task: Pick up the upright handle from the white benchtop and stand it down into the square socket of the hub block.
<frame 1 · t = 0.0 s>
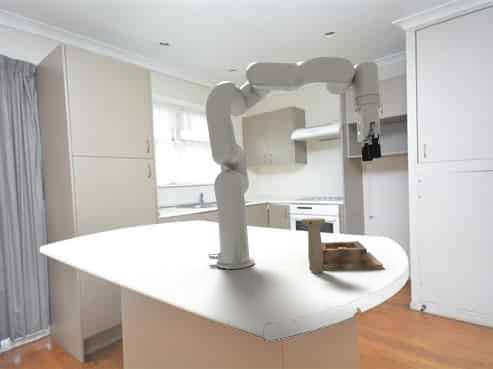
hand: (371, 159, 89), 31 cm above the table, tool pointing down, fingers open, 9 cm apart
hub block: (341, 262, 90), on the table
handle: (317, 272, 82), on the table
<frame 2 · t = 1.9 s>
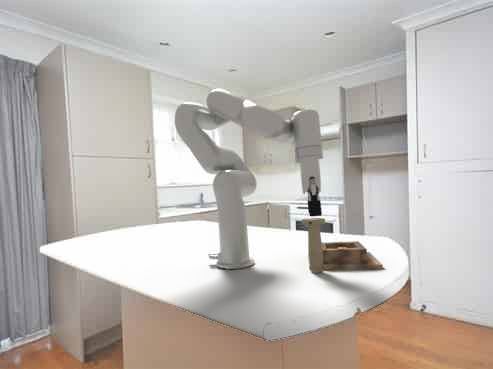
hand: (314, 214, 82), 16 cm above the table, tool pointing down, fingers open, 9 cm apart
nothing on the table moved.
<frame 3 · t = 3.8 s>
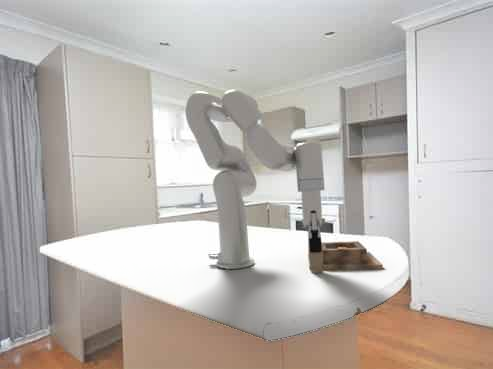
hand: (315, 249, 82), 6 cm above the table, tool pointing down, fingers closed on handle, 3 cm apart
handle: (317, 272, 82), on the table, touching gripper
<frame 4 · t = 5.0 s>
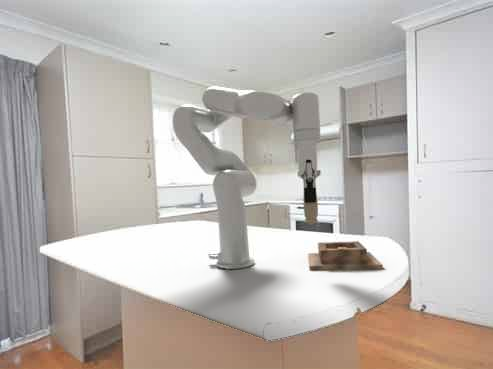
hand: (310, 201, 82), 20 cm above the table, tool pointing down, fingers closed on handle, 3 cm apart
handle: (311, 224, 82), point 14 cm above the table, touching gripper
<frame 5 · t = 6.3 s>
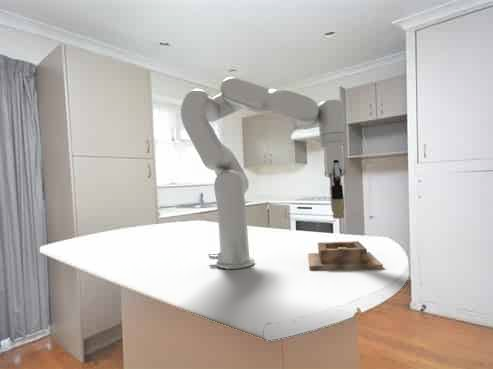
hand: (336, 198, 90), 20 cm above the table, tool pointing down, fingers closed on handle, 3 cm apart
handle: (338, 218, 90), point 14 cm above the table, touching gripper
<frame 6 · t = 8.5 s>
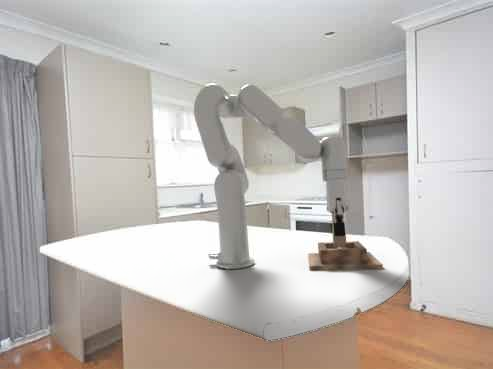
hand: (338, 234, 90), 9 cm above the table, tool pointing down, fingers closed on handle, 3 cm apart
handle: (340, 254, 90), point 2 cm above the table, touching gripper
when the fingers open (9 cm above the table, at t = 8.9 s): handle drops 1 cm, resting on hub block.
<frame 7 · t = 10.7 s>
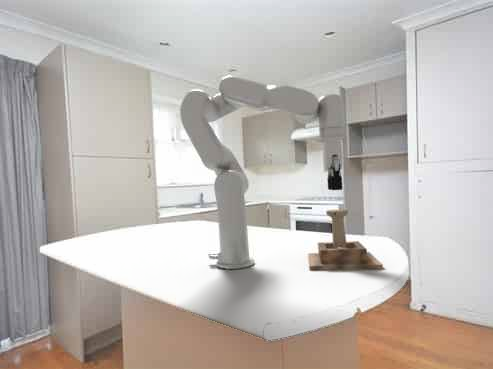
hand: (334, 189, 91), 23 cm above the table, tool pointing down, fingers open, 9 cm apart
handle: (340, 259, 90), point 1 cm above the table, touching hub block
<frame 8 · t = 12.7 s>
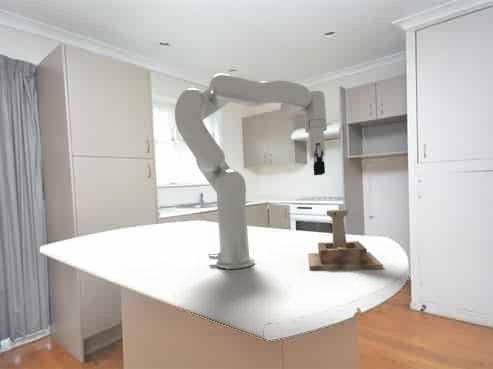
hand: (319, 174, 103), 28 cm above the table, tool pointing down, fingers open, 9 cm apart
nothing on the table moved.
at the end: handle inside the target area on the hub block (0.1 cm from its centre), point 1.0 cm above the hub block's base; handle tilted 0°; the gripper is holding nothing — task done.
